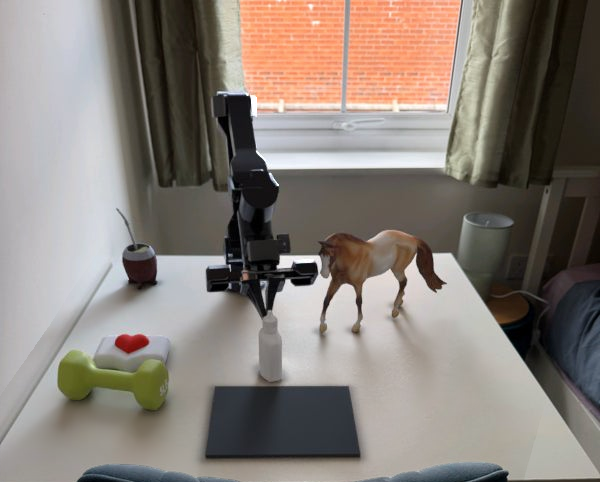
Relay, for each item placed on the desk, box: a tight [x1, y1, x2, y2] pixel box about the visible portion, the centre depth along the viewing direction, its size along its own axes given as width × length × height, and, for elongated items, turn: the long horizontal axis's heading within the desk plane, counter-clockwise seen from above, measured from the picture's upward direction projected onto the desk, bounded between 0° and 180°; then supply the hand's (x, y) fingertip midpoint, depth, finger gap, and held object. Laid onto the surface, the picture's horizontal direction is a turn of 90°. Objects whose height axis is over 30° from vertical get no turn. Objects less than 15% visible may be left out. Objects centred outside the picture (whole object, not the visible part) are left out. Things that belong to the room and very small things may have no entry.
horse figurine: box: [317, 229, 448, 334], centre depth 112 cm, size 31×8×21 cm, turn 123°
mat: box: [204, 385, 361, 459], centre depth 92 cm, size 17×22×1 cm
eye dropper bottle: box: [258, 310, 283, 383], centre depth 99 cm, size 4×6×12 cm
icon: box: [92, 333, 171, 373], centre depth 103 cm, size 12×4×10 cm
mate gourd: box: [115, 207, 158, 290], centre depth 125 cm, size 8×8×15 cm
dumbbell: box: [56, 349, 170, 411], centre depth 93 cm, size 16×8×7 cm, turn 79°
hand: (267, 324), depth 100 cm, fingers closed
